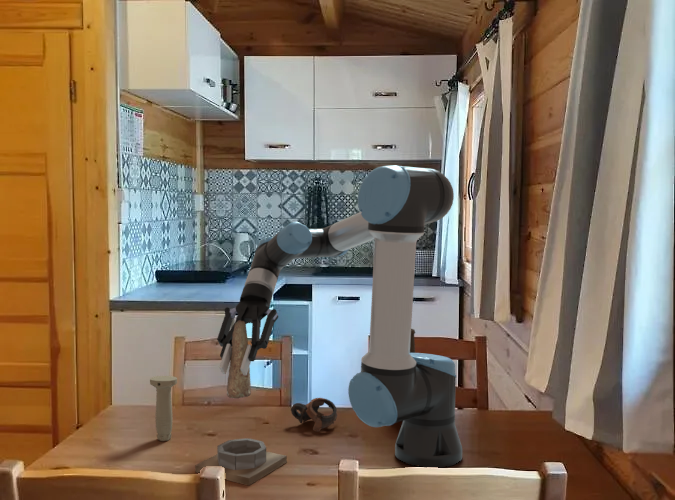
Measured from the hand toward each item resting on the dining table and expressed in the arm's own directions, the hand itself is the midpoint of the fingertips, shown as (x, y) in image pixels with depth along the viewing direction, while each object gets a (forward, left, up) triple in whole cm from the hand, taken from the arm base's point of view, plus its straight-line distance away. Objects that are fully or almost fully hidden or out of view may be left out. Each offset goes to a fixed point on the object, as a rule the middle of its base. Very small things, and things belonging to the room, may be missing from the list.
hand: (232, 371), depth 149 cm
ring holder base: (-7, +6, -19) cm, 21 cm away
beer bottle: (-25, -44, -19) cm, 54 cm away
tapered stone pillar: (+1, -4, -7) cm, 8 cm away
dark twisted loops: (-6, -26, -19) cm, 33 cm away
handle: (+20, +1, -19) cm, 28 cm away
